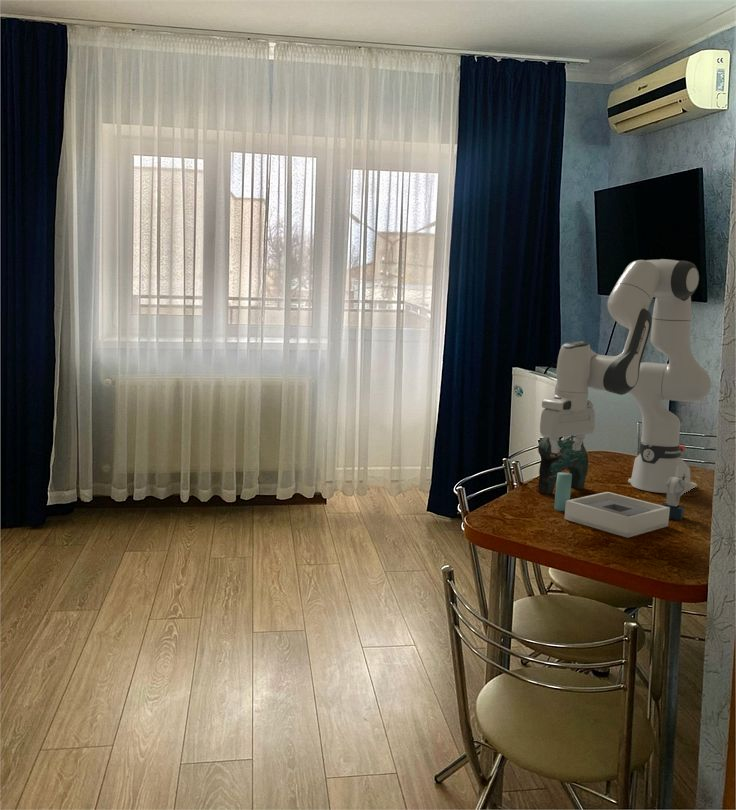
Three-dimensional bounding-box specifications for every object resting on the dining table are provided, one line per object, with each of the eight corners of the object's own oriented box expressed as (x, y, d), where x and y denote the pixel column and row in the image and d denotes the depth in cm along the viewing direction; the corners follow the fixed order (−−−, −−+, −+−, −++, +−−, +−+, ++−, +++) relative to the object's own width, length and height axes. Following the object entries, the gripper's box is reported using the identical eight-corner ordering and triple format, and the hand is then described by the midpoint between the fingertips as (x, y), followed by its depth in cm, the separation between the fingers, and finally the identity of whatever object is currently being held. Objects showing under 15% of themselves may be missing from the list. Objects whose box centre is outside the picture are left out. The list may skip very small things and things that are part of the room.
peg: (559, 506, 234) (563, 471, 233) (571, 510, 231) (575, 474, 230) (551, 508, 232) (554, 473, 230) (563, 512, 229) (566, 476, 227)
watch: (684, 515, 232) (689, 476, 230) (679, 521, 225) (683, 481, 223) (663, 511, 234) (667, 473, 233) (657, 518, 228) (661, 478, 226)
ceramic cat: (545, 496, 245) (551, 429, 242) (529, 491, 251) (534, 425, 248) (589, 489, 257) (595, 425, 254) (573, 484, 262) (578, 421, 259)
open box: (605, 509, 234) (607, 491, 233) (668, 526, 220) (669, 507, 219) (564, 519, 222) (565, 500, 221) (627, 537, 208) (629, 518, 207)
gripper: (583, 398, 236) (579, 446, 238) (537, 401, 223) (533, 452, 225) (602, 401, 232) (597, 450, 233) (557, 404, 218) (552, 456, 220)
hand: (566, 451), depth 229 cm, fingers open, 8 cm apart
